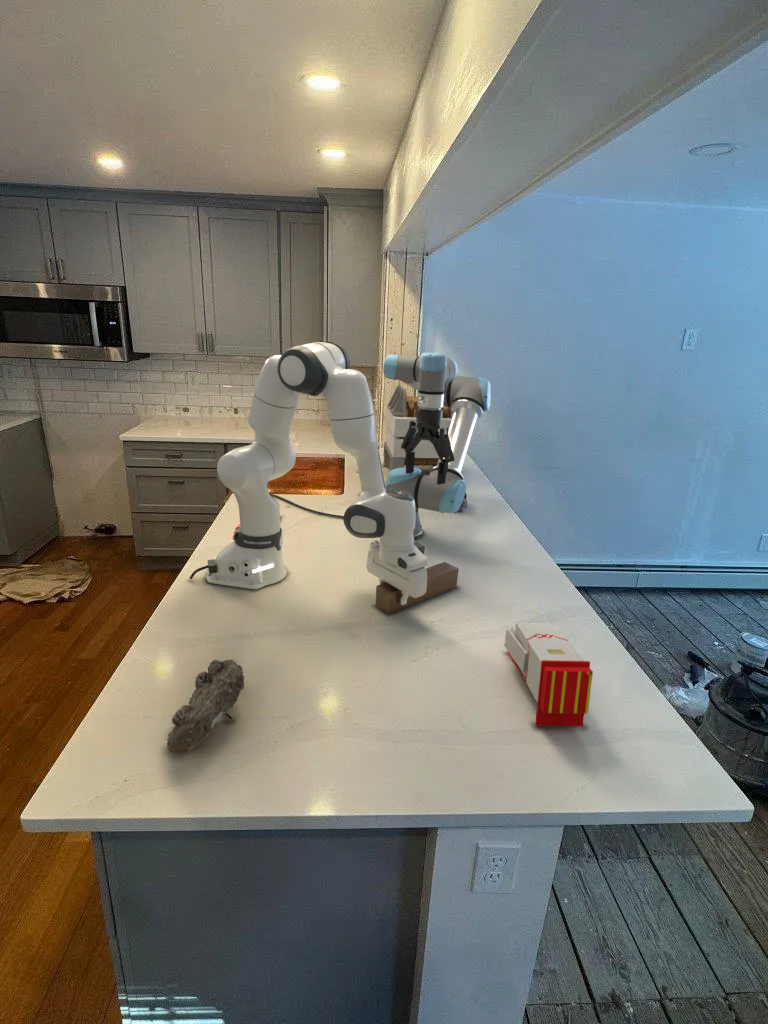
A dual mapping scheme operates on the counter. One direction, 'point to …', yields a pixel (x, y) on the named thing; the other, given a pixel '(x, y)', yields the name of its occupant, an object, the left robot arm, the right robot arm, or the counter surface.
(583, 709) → the toy
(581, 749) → the counter surface
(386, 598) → the walnut rail
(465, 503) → the figurine character
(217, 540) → the counter surface
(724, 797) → the counter surface
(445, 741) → the counter surface
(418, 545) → the grey block
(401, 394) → the white wooden box
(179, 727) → the fossil
